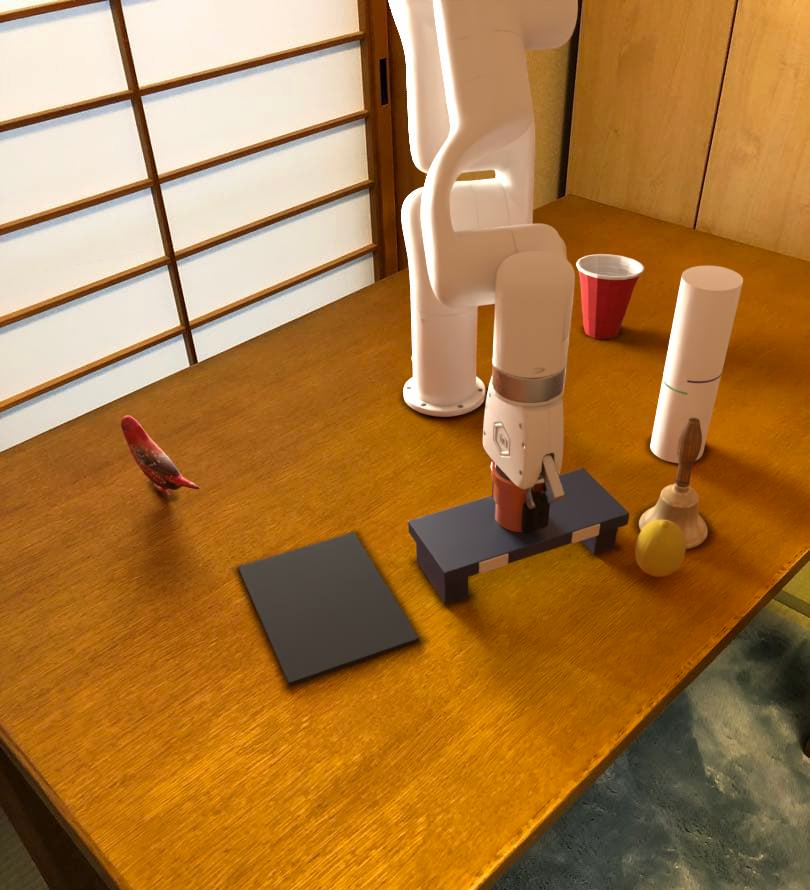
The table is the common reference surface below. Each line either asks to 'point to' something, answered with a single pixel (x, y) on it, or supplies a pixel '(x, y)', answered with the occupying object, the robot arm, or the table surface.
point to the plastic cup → (606, 291)
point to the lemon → (660, 548)
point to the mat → (325, 608)
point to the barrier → (511, 534)
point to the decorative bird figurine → (152, 458)
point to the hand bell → (682, 491)
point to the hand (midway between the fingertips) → (519, 510)
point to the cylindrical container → (695, 354)
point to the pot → (509, 499)
